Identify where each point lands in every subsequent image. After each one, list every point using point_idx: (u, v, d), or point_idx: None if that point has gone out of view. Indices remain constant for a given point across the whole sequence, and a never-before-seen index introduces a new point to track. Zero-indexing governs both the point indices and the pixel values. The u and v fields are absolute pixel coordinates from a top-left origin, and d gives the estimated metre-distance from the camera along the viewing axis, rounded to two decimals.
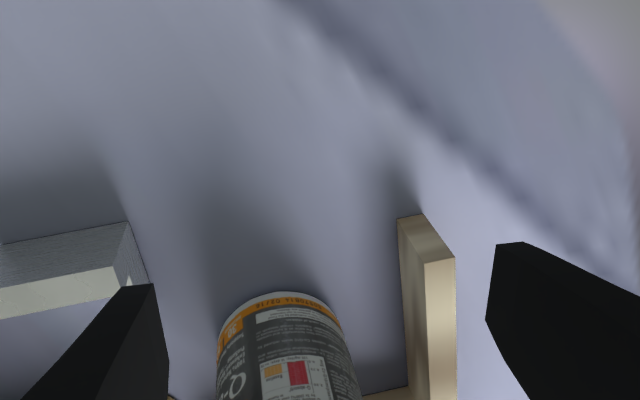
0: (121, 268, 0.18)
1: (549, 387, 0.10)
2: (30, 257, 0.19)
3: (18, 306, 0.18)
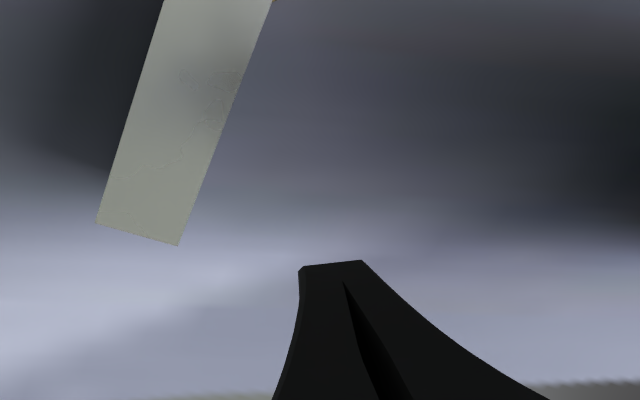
0: None
1: None
2: None
3: None
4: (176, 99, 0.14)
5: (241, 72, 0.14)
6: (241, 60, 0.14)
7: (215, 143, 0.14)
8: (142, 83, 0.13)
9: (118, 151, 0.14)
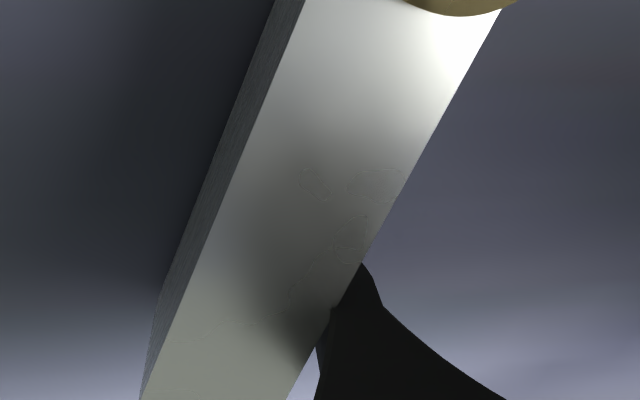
0: None
1: None
2: None
3: None
4: (289, 216, 0.08)
5: (406, 170, 0.08)
6: (409, 150, 0.08)
7: (347, 283, 0.08)
8: (233, 193, 0.07)
9: (183, 301, 0.08)
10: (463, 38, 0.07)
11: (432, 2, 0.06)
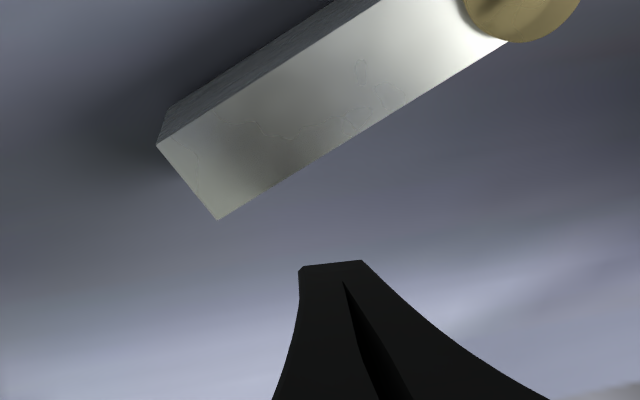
0: None
1: None
2: None
3: None
4: (336, 82, 0.12)
5: (409, 98, 0.12)
6: (417, 88, 0.12)
7: (335, 146, 0.13)
8: (319, 45, 0.11)
9: (241, 91, 0.12)
10: (478, 47, 0.12)
11: (480, 14, 0.11)
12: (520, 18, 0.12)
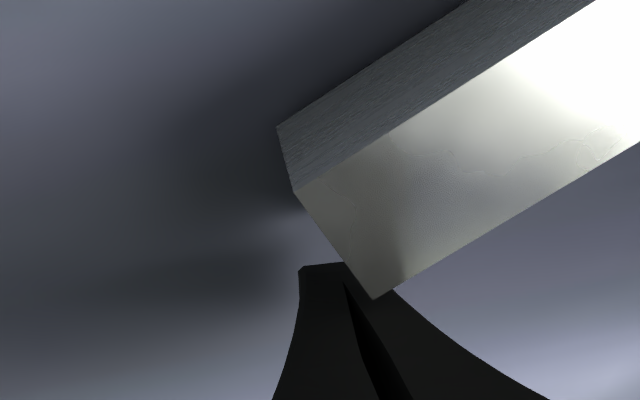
0: None
1: None
2: None
3: None
4: (582, 85, 0.07)
5: None
6: None
7: (563, 185, 0.08)
8: (569, 25, 0.07)
9: (436, 104, 0.07)
10: None
11: None
12: None
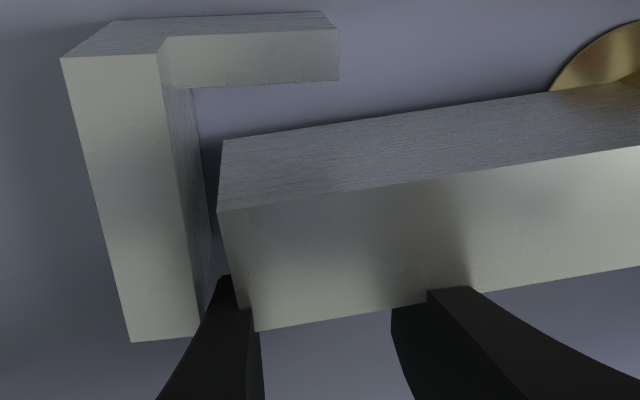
0: (117, 45, 0.07)
1: None
2: None
3: (167, 270, 0.08)
4: (490, 224, 0.08)
5: (558, 276, 0.09)
6: (573, 267, 0.09)
7: None
8: (499, 173, 0.08)
9: (370, 189, 0.08)
10: None
11: None
12: None
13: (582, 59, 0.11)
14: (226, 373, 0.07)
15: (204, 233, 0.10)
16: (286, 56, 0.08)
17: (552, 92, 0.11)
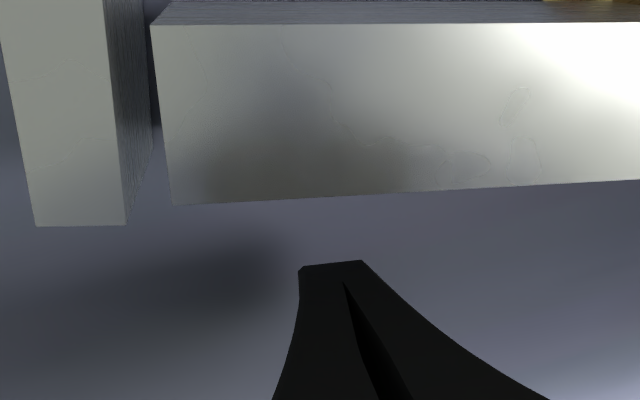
0: None
1: None
2: None
3: (86, 131, 0.07)
4: (475, 99, 0.07)
5: (542, 180, 0.08)
6: (559, 172, 0.08)
7: (413, 189, 0.08)
8: (492, 31, 0.07)
9: (341, 27, 0.07)
10: None
11: None
12: None
13: None
14: (342, 357, 0.07)
15: (142, 125, 0.09)
16: None
17: (544, 1, 0.10)
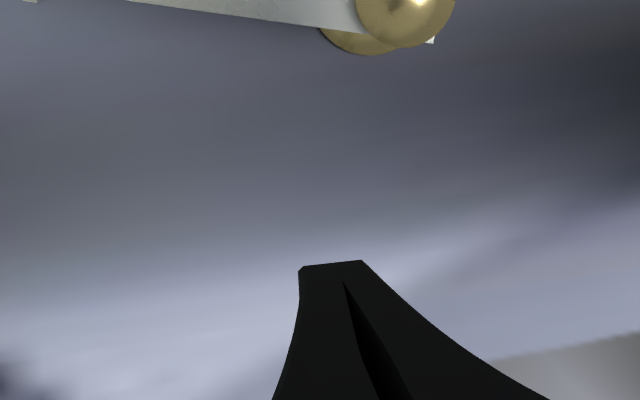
0: None
1: None
2: None
3: None
4: None
5: (278, 19, 0.14)
6: (289, 16, 0.14)
7: (202, 9, 0.14)
8: None
9: None
10: (347, 21, 0.15)
11: None
12: (385, 20, 0.15)
13: None
14: (342, 357, 0.07)
15: None
16: None
17: None
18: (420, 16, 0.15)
